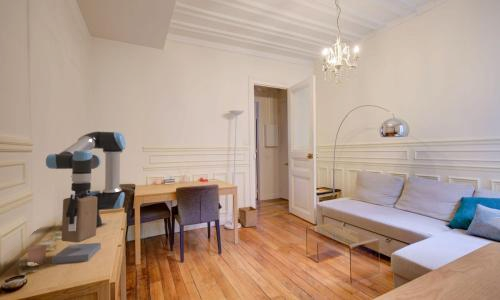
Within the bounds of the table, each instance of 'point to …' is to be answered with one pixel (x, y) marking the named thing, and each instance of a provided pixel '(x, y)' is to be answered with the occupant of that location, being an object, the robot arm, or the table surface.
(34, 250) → the reddish brown block
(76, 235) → the wooden block
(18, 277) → the table surface
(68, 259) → the slate plinth
